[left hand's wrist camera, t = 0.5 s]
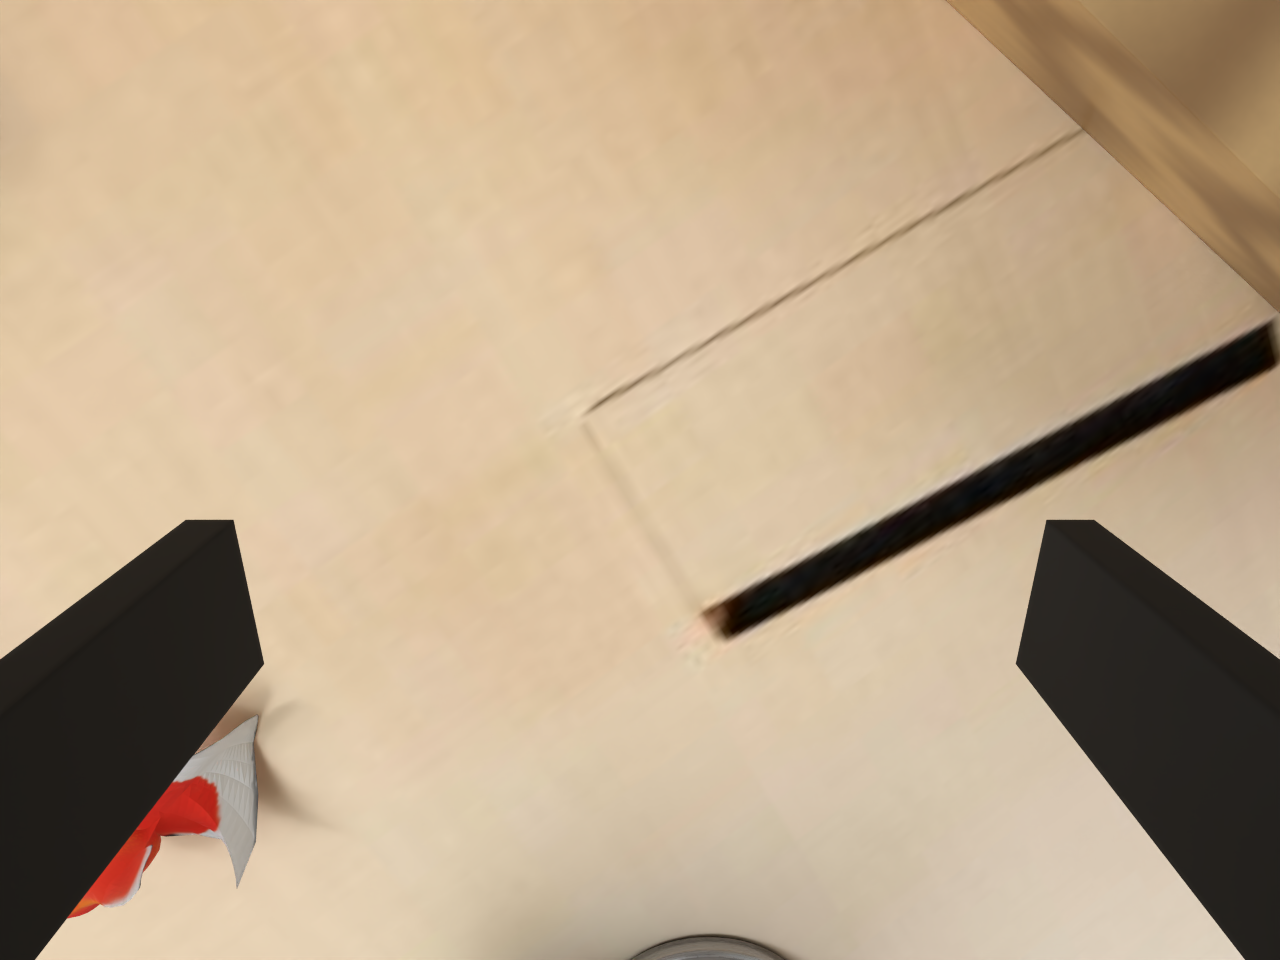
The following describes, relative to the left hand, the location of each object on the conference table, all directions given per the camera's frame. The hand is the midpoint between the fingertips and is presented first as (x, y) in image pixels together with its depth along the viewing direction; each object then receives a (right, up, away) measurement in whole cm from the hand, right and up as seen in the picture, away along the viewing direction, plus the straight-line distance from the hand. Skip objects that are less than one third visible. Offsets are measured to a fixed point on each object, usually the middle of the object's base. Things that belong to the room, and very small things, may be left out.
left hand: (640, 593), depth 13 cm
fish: (-28, -16, +35) cm, 48 cm away
